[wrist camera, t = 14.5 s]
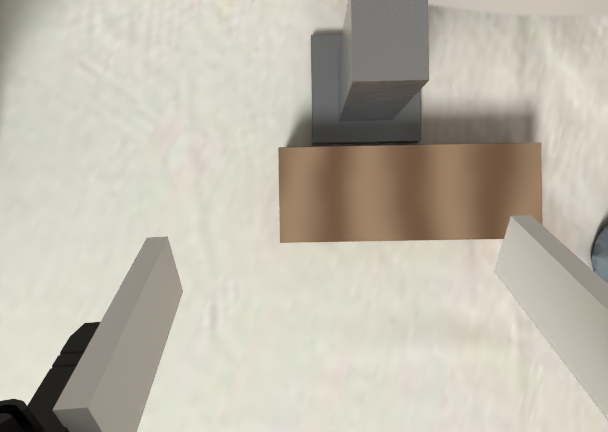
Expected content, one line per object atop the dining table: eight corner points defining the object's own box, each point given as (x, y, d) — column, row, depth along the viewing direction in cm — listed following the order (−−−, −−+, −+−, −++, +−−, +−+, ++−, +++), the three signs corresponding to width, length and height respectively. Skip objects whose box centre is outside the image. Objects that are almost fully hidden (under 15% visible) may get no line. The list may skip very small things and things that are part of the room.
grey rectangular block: (392, 119, 34) (429, 79, 24) (338, 121, 34) (352, 81, 24) (391, 55, 34) (427, -12, 24) (337, 56, 34) (350, -11, 24)
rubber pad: (312, 144, 35) (312, 142, 34) (310, 39, 35) (311, 34, 34) (418, 142, 35) (420, 140, 34) (416, 36, 35) (418, 32, 34)
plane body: (283, 239, 35) (280, 242, 31) (281, 155, 35) (278, 147, 31) (515, 235, 35) (542, 238, 31) (513, 151, 35) (541, 142, 31)
